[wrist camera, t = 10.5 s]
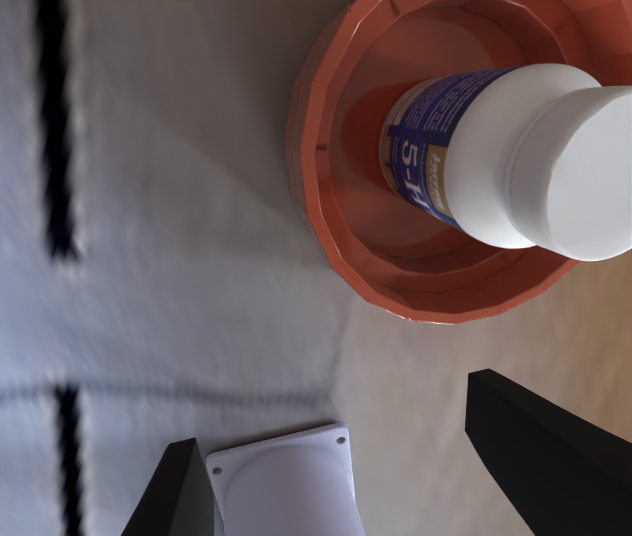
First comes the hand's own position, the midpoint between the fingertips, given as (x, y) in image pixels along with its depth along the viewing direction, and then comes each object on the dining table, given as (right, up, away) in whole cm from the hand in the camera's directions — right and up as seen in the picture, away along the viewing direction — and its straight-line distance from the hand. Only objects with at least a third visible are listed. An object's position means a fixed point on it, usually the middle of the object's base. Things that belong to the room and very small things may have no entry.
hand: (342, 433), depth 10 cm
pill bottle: (+4, +10, +7) cm, 13 cm away
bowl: (+4, +10, +7) cm, 13 cm away
